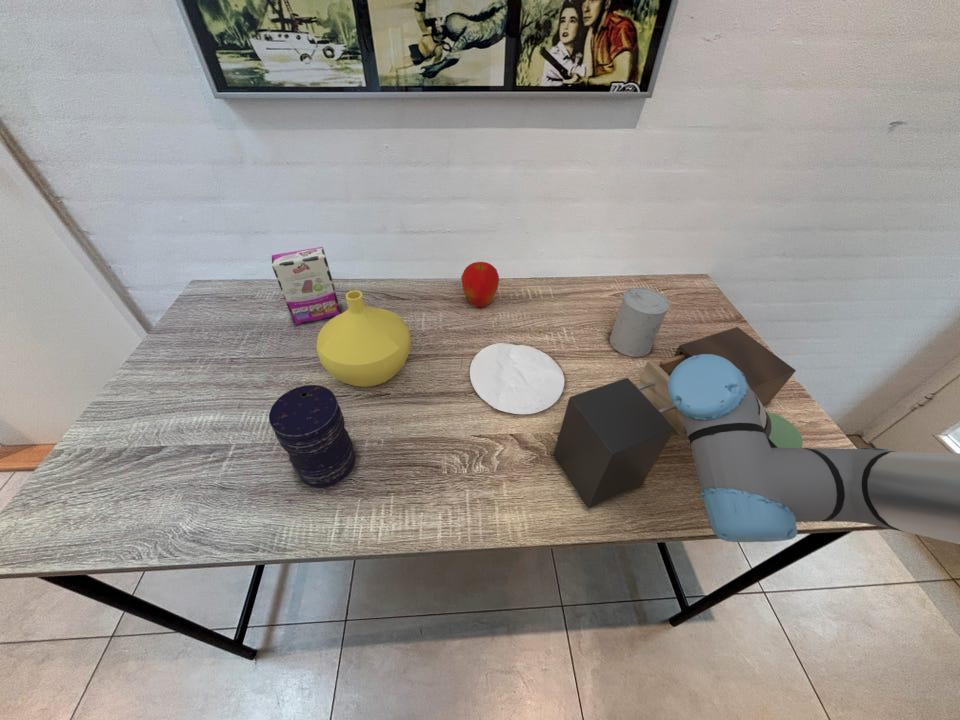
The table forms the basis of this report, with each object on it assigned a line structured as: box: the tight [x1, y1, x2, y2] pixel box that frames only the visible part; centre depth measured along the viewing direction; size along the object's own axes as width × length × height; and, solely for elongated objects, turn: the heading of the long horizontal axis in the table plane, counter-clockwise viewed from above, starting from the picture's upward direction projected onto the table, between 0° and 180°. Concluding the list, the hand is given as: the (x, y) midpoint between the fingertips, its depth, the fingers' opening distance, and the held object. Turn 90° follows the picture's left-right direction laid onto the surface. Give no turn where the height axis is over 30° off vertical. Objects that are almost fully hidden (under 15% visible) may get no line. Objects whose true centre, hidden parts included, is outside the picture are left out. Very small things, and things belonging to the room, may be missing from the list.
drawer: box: [635, 354, 688, 436], centre depth 79 cm, size 20×13×8 cm, turn 113°
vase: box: [315, 290, 412, 388], centre depth 81 cm, size 18×18×19 cm
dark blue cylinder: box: [268, 384, 357, 490], centre depth 66 cm, size 10×10×15 cm
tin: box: [766, 411, 804, 448], centre depth 68 cm, size 8×8×12 cm
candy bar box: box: [271, 246, 342, 326], centre depth 94 cm, size 11×5×16 cm, turn 112°
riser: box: [553, 377, 676, 509], centre depth 66 cm, size 11×11×16 cm
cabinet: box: [673, 326, 797, 407], centre depth 82 cm, size 16×14×10 cm
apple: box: [460, 261, 500, 308], centre depth 101 cm, size 9×9×12 cm
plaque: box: [469, 342, 565, 415], centre depth 87 cm, size 20×20×2 cm
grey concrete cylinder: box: [609, 286, 671, 358], centre depth 92 cm, size 10×10×12 cm
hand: (763, 452), depth 69 cm, fingers open, 13 cm apart
